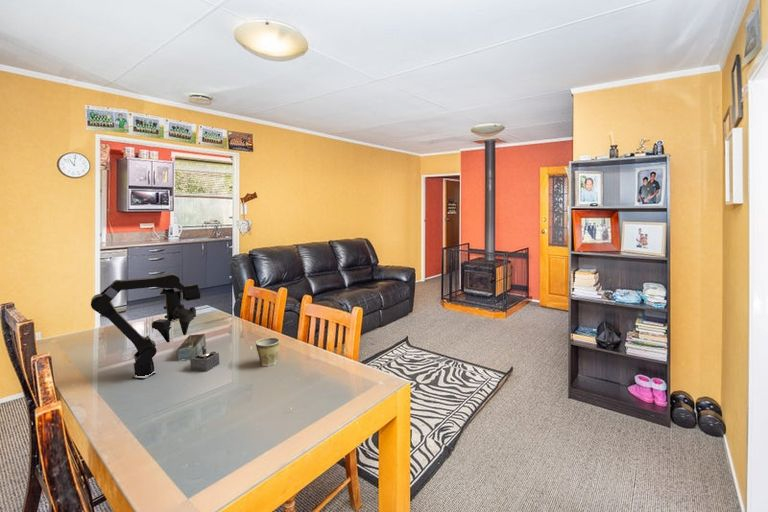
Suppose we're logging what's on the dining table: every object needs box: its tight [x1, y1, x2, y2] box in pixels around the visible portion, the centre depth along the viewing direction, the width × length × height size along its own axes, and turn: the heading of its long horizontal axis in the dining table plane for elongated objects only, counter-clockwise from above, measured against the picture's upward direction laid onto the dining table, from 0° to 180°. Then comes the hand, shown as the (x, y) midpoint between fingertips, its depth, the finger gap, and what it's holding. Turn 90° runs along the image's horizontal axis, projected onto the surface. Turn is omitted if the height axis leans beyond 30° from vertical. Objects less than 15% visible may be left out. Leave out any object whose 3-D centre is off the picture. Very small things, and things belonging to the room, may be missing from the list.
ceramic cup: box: [255, 337, 280, 367], centre depth 170 cm, size 13×10×10 cm
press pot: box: [189, 351, 221, 372], centre depth 168 cm, size 10×8×5 cm
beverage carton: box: [176, 333, 207, 361], centre depth 184 cm, size 8×19×7 cm, turn 11°
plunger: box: [199, 345, 210, 359], centre depth 166 cm, size 5×5×9 cm
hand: (176, 338), depth 165 cm, fingers open, 9 cm apart
